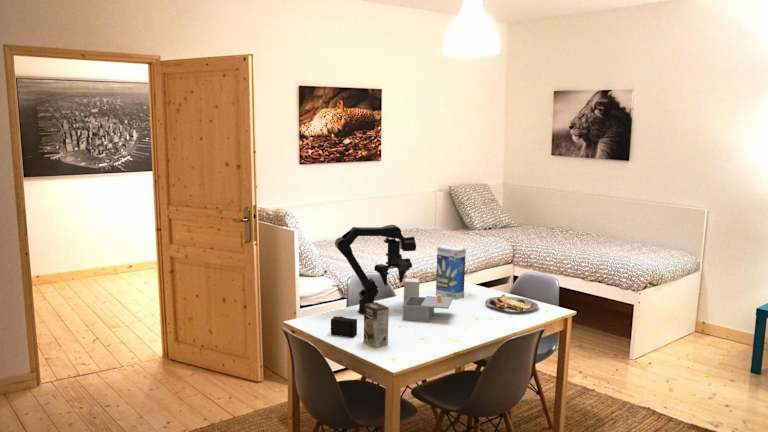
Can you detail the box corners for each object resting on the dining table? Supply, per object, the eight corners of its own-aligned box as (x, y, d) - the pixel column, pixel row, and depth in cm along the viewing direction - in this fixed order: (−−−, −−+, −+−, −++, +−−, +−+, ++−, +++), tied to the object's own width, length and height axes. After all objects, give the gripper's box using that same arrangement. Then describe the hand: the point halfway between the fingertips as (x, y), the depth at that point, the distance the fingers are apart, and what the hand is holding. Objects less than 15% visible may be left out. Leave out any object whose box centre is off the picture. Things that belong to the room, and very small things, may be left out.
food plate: (476, 305, 318) (476, 298, 318) (505, 297, 334) (505, 291, 333) (517, 318, 300) (518, 311, 300) (546, 309, 316) (547, 302, 315)
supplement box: (419, 307, 315) (419, 282, 313) (403, 307, 315) (404, 281, 313) (418, 303, 322) (418, 278, 320) (403, 302, 322) (404, 278, 320)
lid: (420, 306, 291) (421, 298, 290) (426, 297, 307) (426, 289, 306) (448, 308, 288) (448, 300, 288) (452, 298, 304) (452, 291, 304)
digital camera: (358, 334, 275) (358, 318, 274) (353, 338, 270) (353, 321, 269) (336, 331, 279) (336, 315, 278) (330, 334, 274) (330, 319, 273)
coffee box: (363, 342, 265) (363, 303, 263) (375, 339, 269) (376, 301, 267) (375, 348, 258) (375, 309, 256) (388, 345, 262) (389, 306, 259)
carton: (402, 320, 294) (402, 305, 293) (409, 310, 310) (409, 296, 308) (428, 322, 291) (429, 307, 290) (433, 312, 307) (434, 298, 306)
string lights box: (435, 295, 337) (436, 246, 333) (443, 292, 343) (444, 244, 339) (456, 299, 328) (458, 250, 325) (464, 296, 334) (466, 247, 330)
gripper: (388, 257, 293) (388, 290, 295) (419, 252, 304) (419, 284, 306) (373, 253, 302) (373, 285, 304) (404, 248, 313) (404, 279, 315)
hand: (393, 284), depth 307 cm, fingers open, 9 cm apart
